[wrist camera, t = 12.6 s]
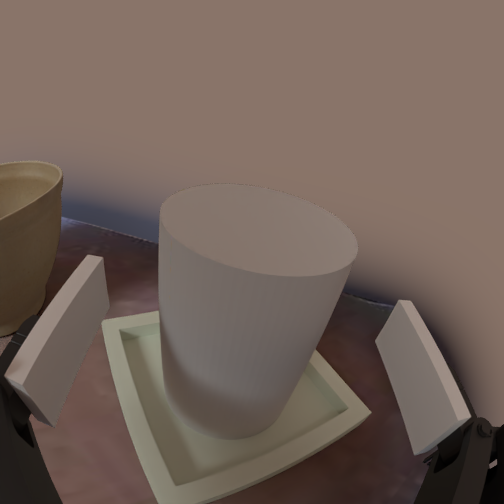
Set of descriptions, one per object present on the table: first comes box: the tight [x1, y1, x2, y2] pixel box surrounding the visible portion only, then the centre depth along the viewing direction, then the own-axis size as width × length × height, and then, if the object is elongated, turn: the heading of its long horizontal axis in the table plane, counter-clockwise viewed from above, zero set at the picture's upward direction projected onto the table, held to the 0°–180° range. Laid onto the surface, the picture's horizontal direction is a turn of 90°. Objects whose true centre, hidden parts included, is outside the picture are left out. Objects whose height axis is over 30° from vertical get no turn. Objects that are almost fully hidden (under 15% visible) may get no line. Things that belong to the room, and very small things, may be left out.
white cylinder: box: [158, 184, 358, 440], centre depth 15 cm, size 8×8×12 cm
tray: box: [101, 311, 372, 504], centre depth 18 cm, size 14×14×2 cm
